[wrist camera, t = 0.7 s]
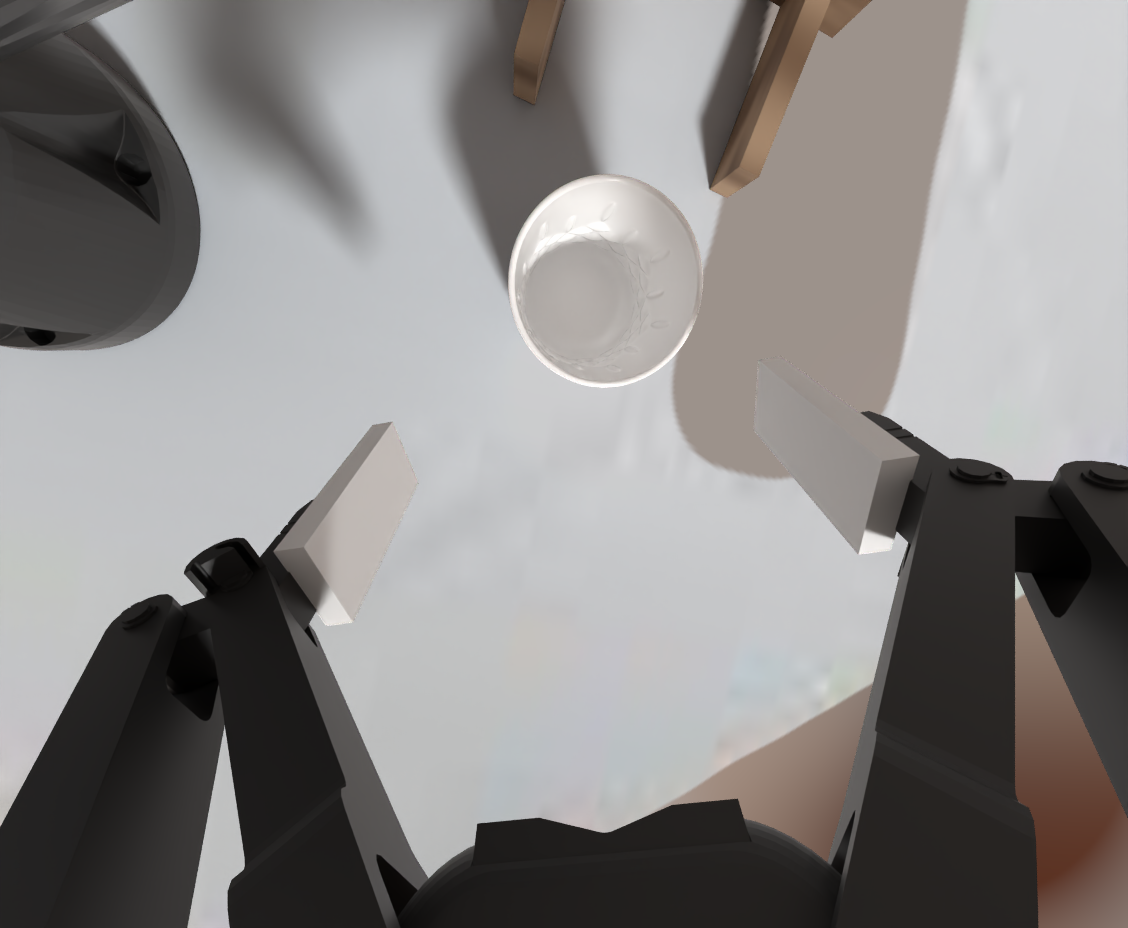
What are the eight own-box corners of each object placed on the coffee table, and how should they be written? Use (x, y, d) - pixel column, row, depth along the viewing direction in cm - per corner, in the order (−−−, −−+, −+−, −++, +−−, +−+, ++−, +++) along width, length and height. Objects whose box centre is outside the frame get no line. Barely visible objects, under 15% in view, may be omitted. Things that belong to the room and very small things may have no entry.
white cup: (483, 323, 26) (469, 312, 17) (556, 206, 25) (585, 123, 16) (587, 395, 28) (627, 423, 19) (660, 290, 27) (741, 262, 18)
